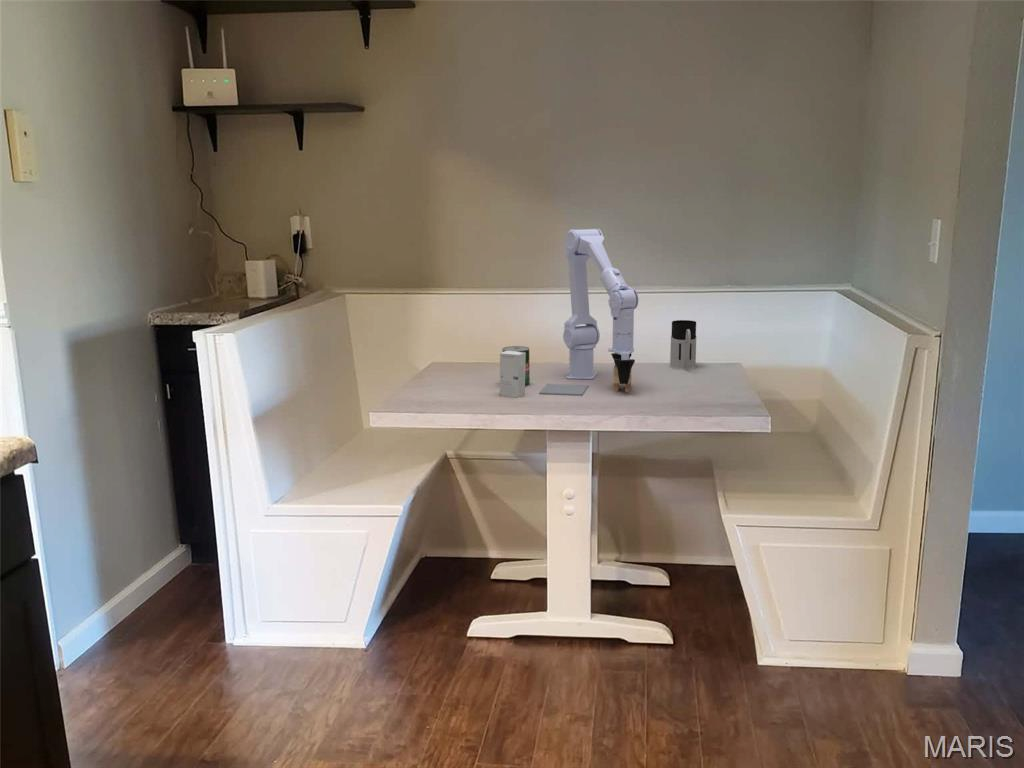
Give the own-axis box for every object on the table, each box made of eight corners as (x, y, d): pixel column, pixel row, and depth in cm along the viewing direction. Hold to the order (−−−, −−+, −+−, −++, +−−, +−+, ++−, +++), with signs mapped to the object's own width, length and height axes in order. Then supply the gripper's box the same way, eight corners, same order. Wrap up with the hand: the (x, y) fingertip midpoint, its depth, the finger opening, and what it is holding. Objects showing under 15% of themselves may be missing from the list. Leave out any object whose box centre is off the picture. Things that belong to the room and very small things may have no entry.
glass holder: (694, 366, 273) (695, 319, 270) (702, 375, 259) (704, 326, 256) (666, 366, 273) (667, 320, 270) (673, 375, 260) (675, 326, 256)
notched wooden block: (615, 388, 242) (615, 364, 241) (631, 389, 241) (631, 364, 240) (613, 392, 238) (613, 367, 236) (629, 392, 237) (629, 367, 235)
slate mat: (547, 385, 247) (547, 383, 247) (588, 387, 245) (588, 385, 244) (539, 394, 236) (539, 392, 236) (582, 396, 233) (582, 394, 233)
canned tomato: (527, 388, 244) (526, 350, 241) (500, 388, 245) (499, 350, 243) (532, 383, 251) (531, 346, 249) (505, 382, 253) (505, 345, 251)
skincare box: (499, 396, 235) (498, 352, 233) (507, 392, 239) (506, 350, 236) (518, 398, 232) (518, 354, 230) (526, 394, 236) (526, 351, 233)
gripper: (606, 329, 243) (606, 376, 246) (610, 337, 229) (610, 386, 232) (631, 329, 243) (630, 375, 246) (637, 336, 229) (636, 386, 232)
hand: (622, 381), depth 239 cm, fingers open, 7 cm apart
